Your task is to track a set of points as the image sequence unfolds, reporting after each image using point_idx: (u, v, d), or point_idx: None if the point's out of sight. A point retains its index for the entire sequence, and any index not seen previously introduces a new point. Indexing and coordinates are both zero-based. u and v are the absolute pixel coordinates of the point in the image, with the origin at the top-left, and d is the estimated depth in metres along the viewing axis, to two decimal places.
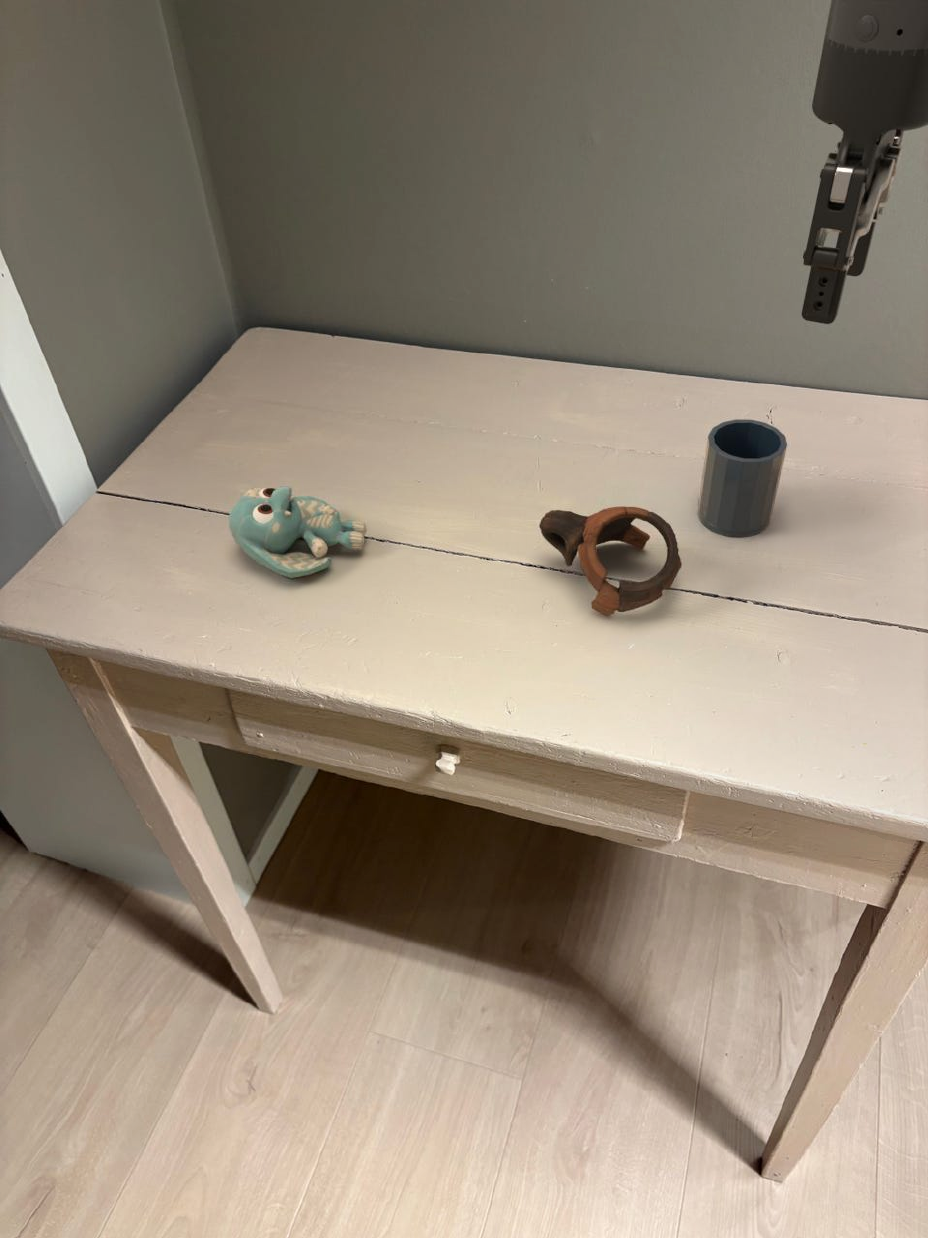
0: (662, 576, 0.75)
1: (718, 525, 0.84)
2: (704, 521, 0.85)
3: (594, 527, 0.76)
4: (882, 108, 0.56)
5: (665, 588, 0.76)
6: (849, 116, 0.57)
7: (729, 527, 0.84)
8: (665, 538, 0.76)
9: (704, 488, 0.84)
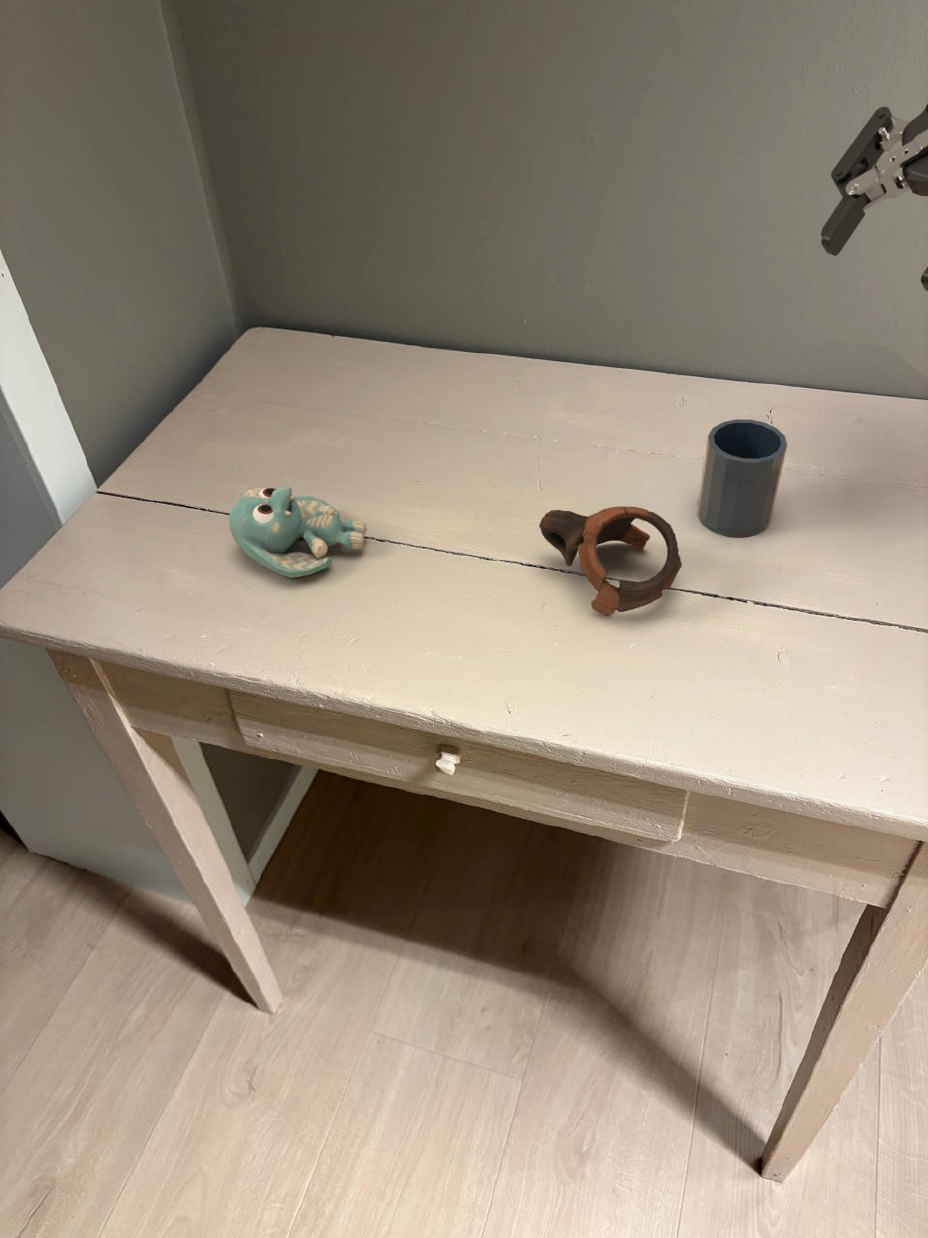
0: (662, 576, 0.75)
1: (718, 525, 0.84)
2: (704, 521, 0.85)
3: (594, 527, 0.76)
4: None
5: (665, 588, 0.76)
6: None
7: (729, 527, 0.84)
8: (665, 538, 0.76)
9: (704, 488, 0.84)
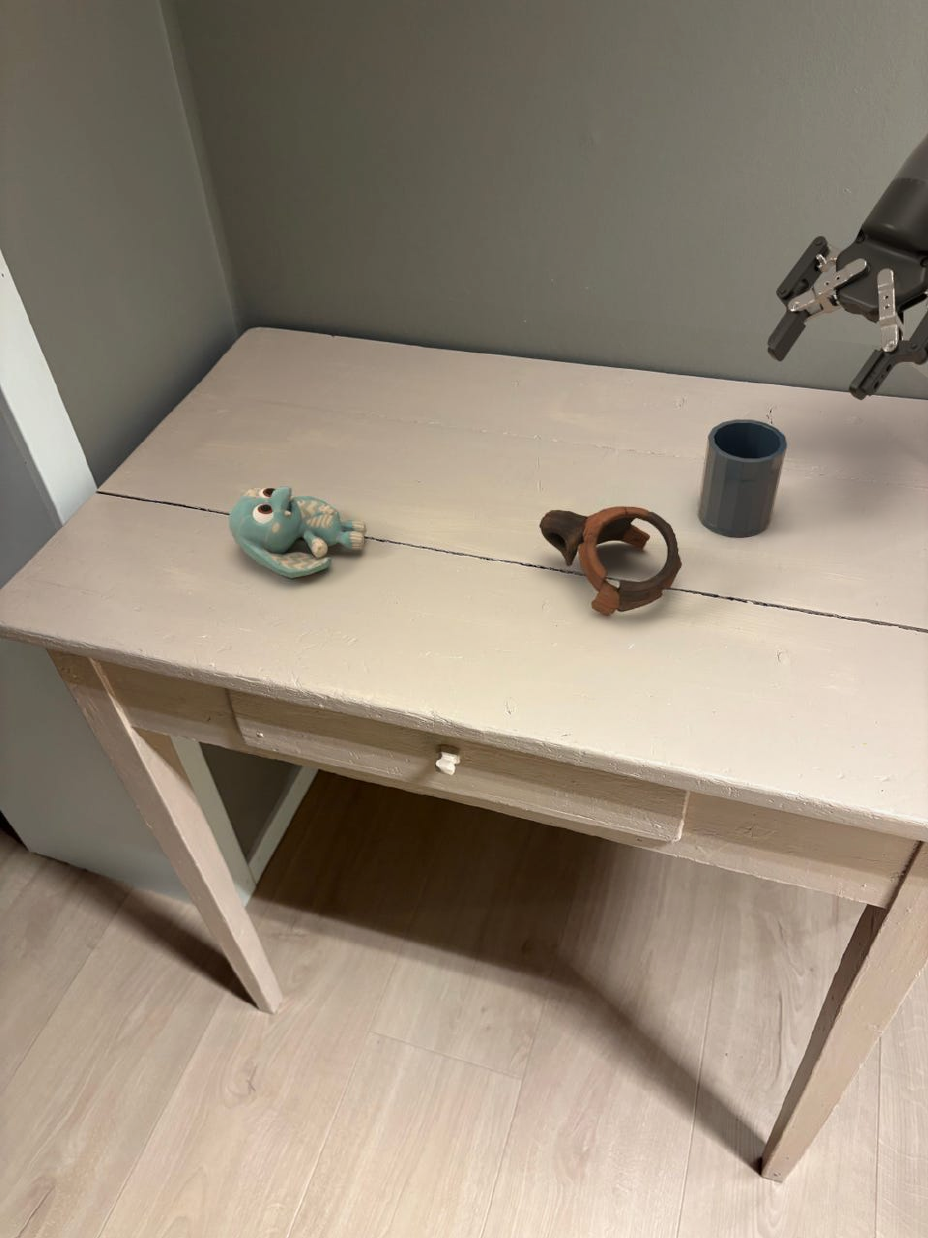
0: (662, 576, 0.75)
1: (718, 525, 0.84)
2: (704, 521, 0.85)
3: (594, 527, 0.76)
4: None
5: (665, 588, 0.76)
6: None
7: (729, 527, 0.84)
8: (665, 538, 0.76)
9: (704, 488, 0.84)
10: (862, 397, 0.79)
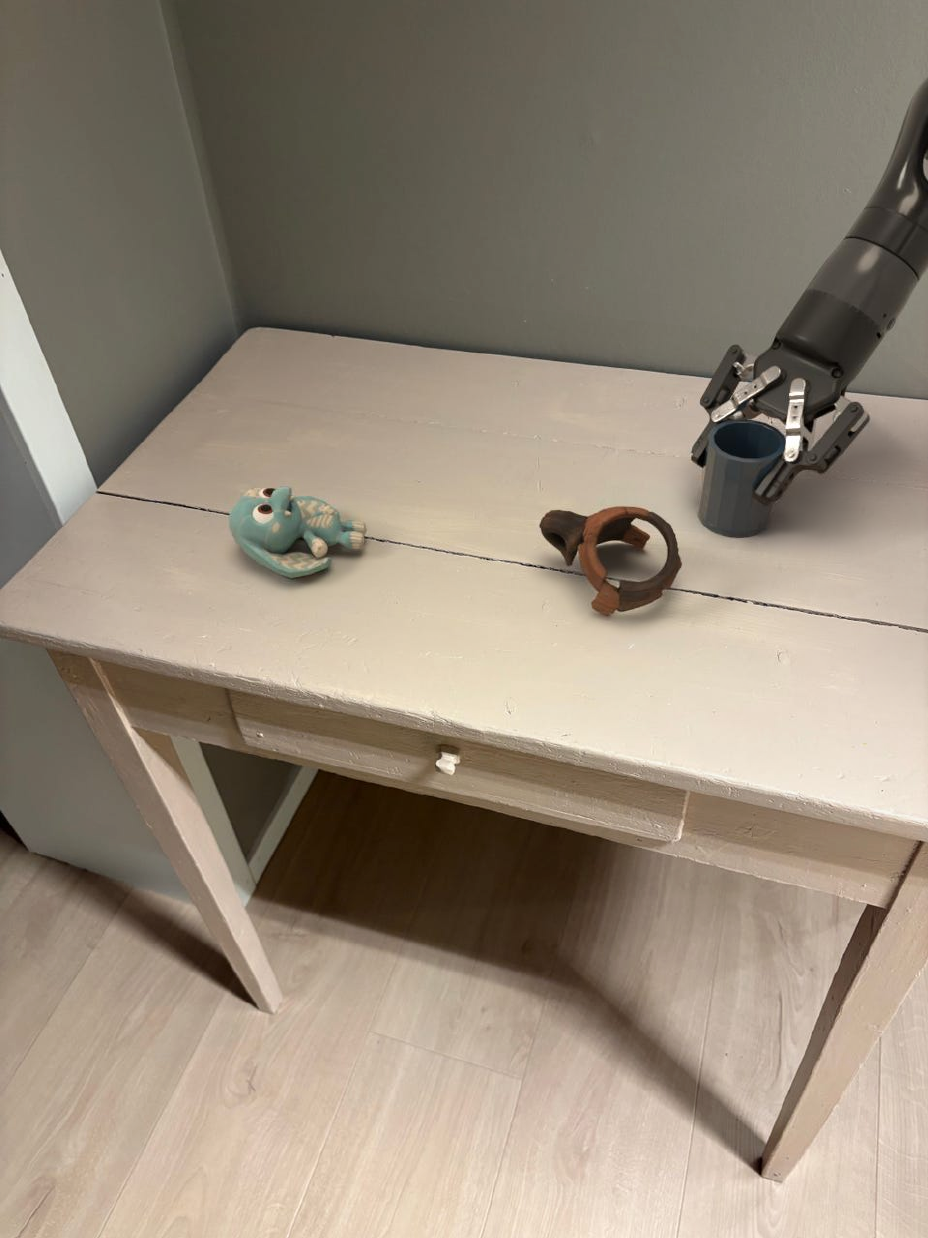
0: (662, 576, 0.75)
1: (718, 525, 0.84)
2: (704, 521, 0.85)
3: (594, 527, 0.76)
4: None
5: (665, 588, 0.76)
6: None
7: (729, 527, 0.84)
8: (665, 538, 0.76)
9: (704, 488, 0.84)
10: (767, 503, 0.81)
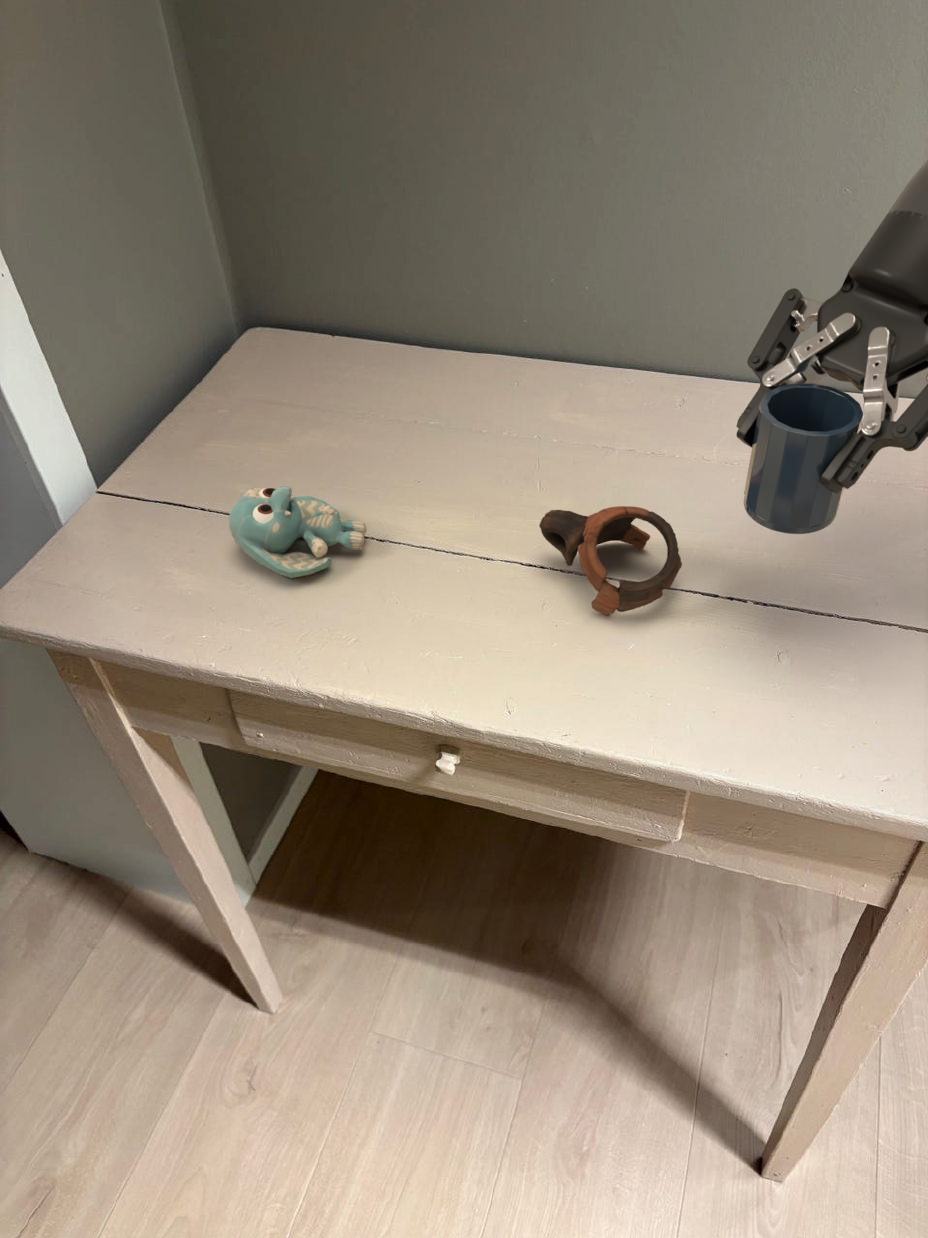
0: (662, 576, 0.75)
1: (771, 519, 0.66)
2: (753, 514, 0.67)
3: (594, 527, 0.76)
4: None
5: (665, 588, 0.76)
6: None
7: (786, 521, 0.65)
8: (665, 538, 0.76)
9: (754, 472, 0.66)
10: (837, 490, 0.63)
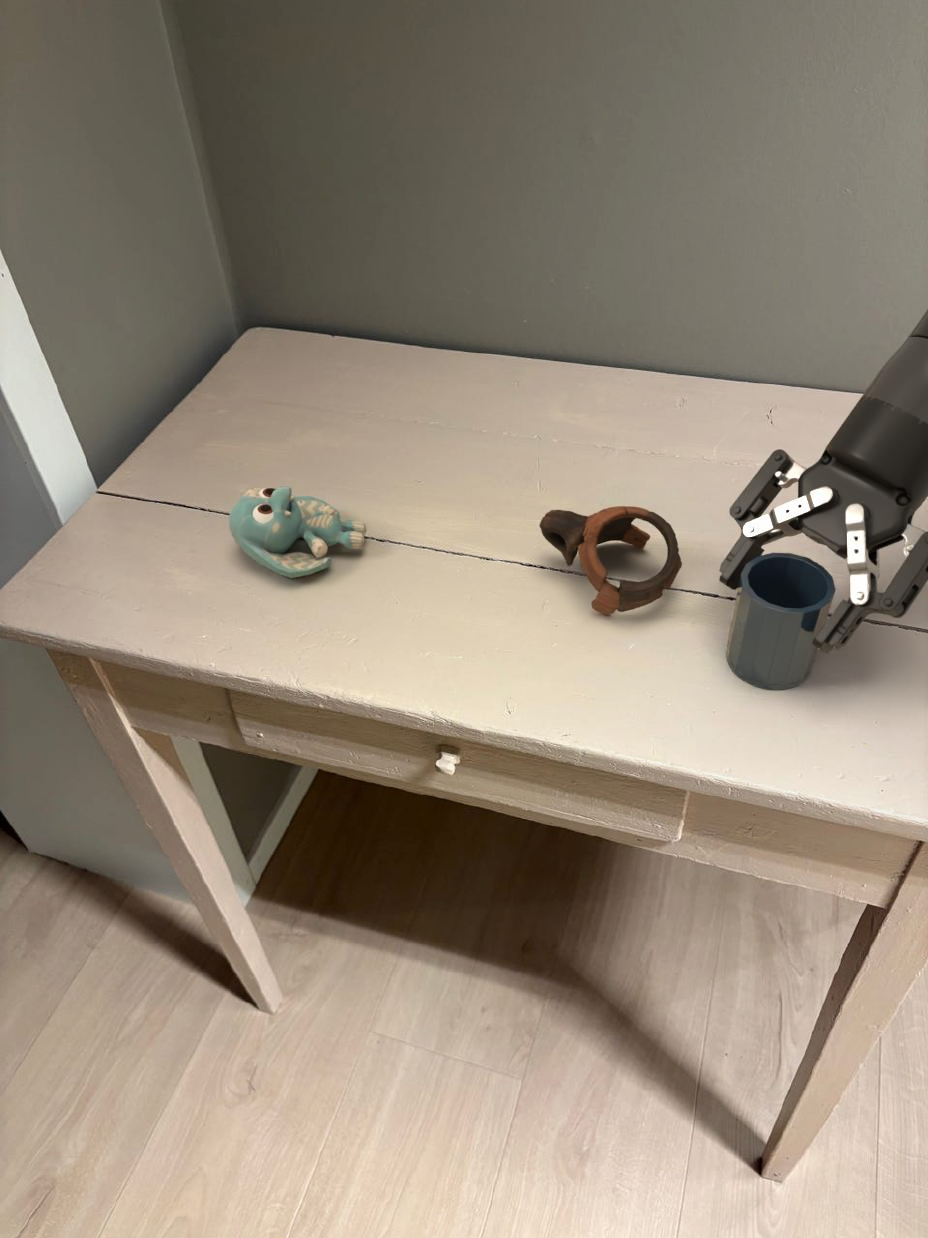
0: (662, 576, 0.75)
1: (751, 676, 0.71)
2: (734, 669, 0.73)
3: (594, 527, 0.76)
4: None
5: (665, 588, 0.76)
6: None
7: (765, 679, 0.71)
8: (665, 538, 0.76)
9: (735, 633, 0.71)
10: (829, 650, 0.67)
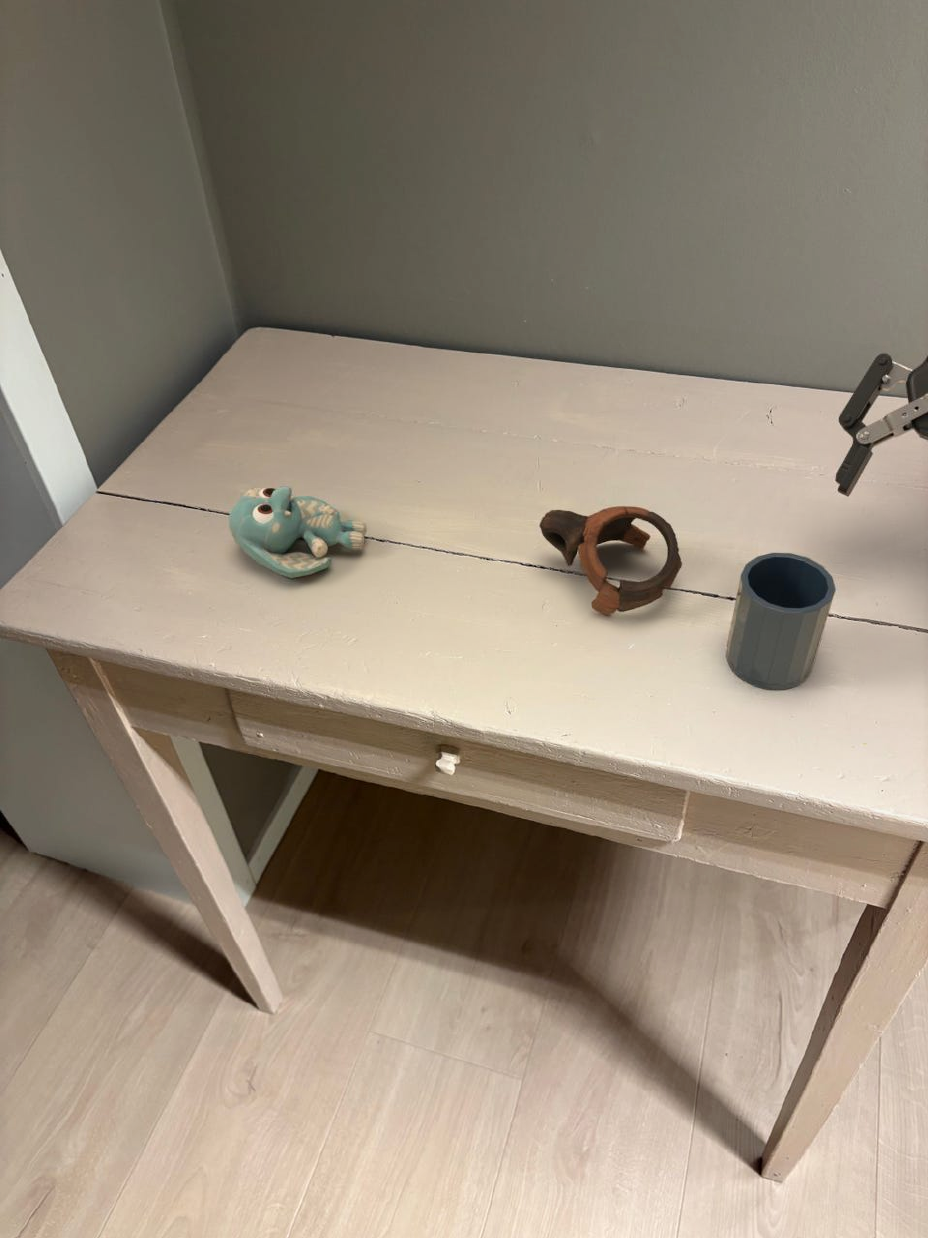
0: (662, 576, 0.75)
1: (751, 676, 0.71)
2: (734, 669, 0.73)
3: (594, 527, 0.76)
4: None
5: (665, 588, 0.76)
6: None
7: (765, 679, 0.71)
8: (665, 538, 0.76)
9: (735, 633, 0.71)
10: None
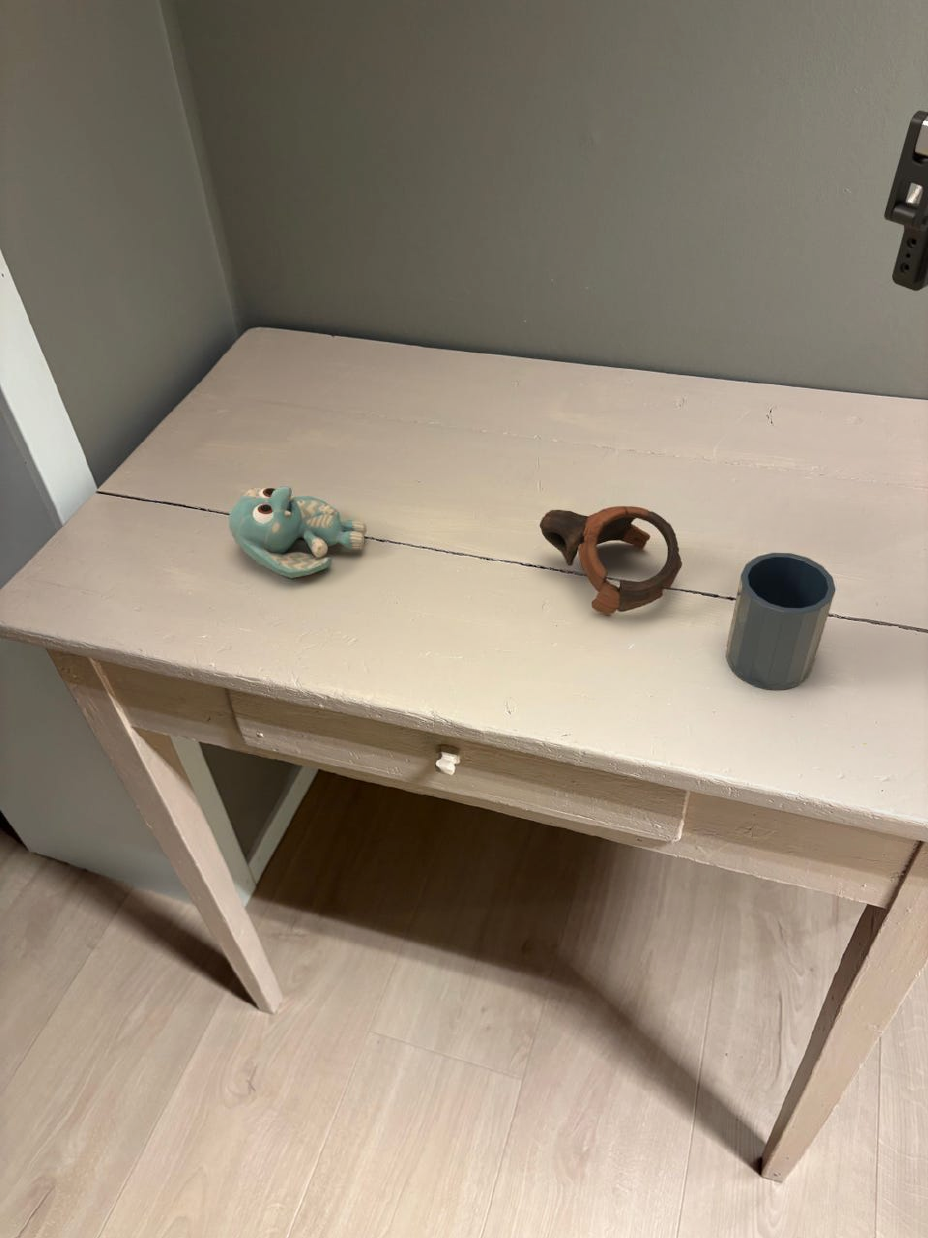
0: (662, 576, 0.75)
1: (751, 676, 0.71)
2: (734, 669, 0.73)
3: (594, 527, 0.76)
4: None
5: (665, 588, 0.76)
6: None
7: (765, 679, 0.71)
8: (665, 538, 0.76)
9: (735, 633, 0.71)
10: None
